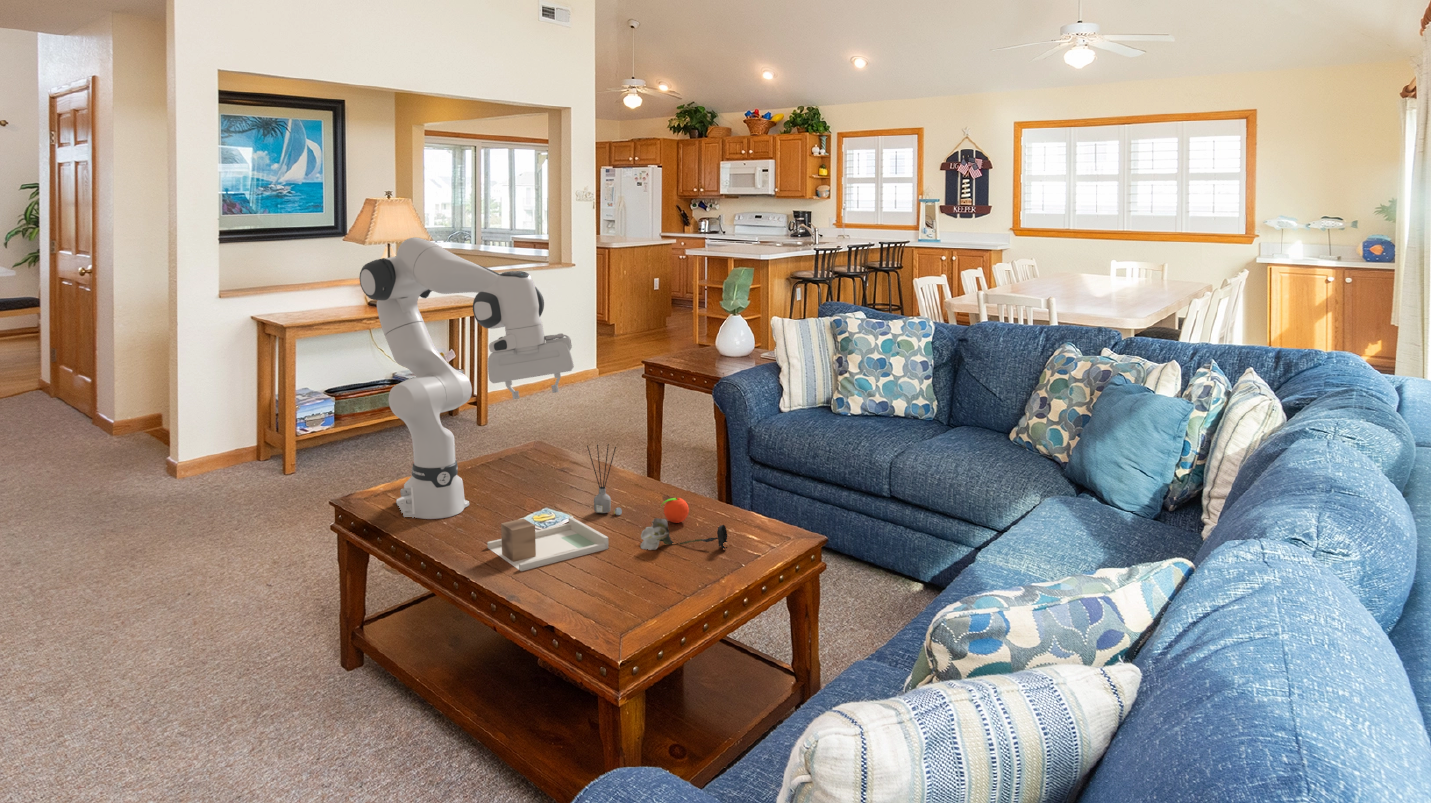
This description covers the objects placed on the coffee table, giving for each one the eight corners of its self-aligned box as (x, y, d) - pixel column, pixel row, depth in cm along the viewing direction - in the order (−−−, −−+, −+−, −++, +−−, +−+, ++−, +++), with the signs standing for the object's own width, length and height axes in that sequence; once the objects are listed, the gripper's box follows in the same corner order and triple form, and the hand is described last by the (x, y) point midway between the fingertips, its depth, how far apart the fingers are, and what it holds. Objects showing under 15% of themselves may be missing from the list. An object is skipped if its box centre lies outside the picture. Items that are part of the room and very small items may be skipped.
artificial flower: (725, 561, 230) (720, 528, 225) (639, 563, 234) (632, 531, 230) (730, 539, 238) (725, 508, 233) (646, 542, 242) (640, 511, 238)
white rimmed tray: (487, 553, 228) (487, 536, 227) (572, 533, 243) (571, 517, 242) (521, 577, 214) (520, 559, 213) (608, 554, 229) (608, 537, 228)
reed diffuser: (584, 514, 257) (583, 446, 253) (592, 506, 264) (591, 439, 259) (619, 517, 255) (619, 448, 251) (626, 509, 262) (626, 442, 257)
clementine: (662, 527, 248) (663, 502, 246) (657, 519, 255) (657, 494, 253) (691, 525, 250) (691, 500, 249) (685, 517, 257) (685, 492, 255)
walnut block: (502, 554, 224) (501, 523, 222) (524, 548, 227) (523, 518, 226) (513, 561, 219) (512, 530, 217) (535, 556, 223) (535, 525, 221)
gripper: (569, 331, 223) (579, 386, 225) (484, 344, 220) (495, 400, 222) (569, 332, 217) (579, 390, 219) (482, 346, 214) (492, 404, 216)
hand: (536, 395), depth 221 cm, fingers open, 8 cm apart
